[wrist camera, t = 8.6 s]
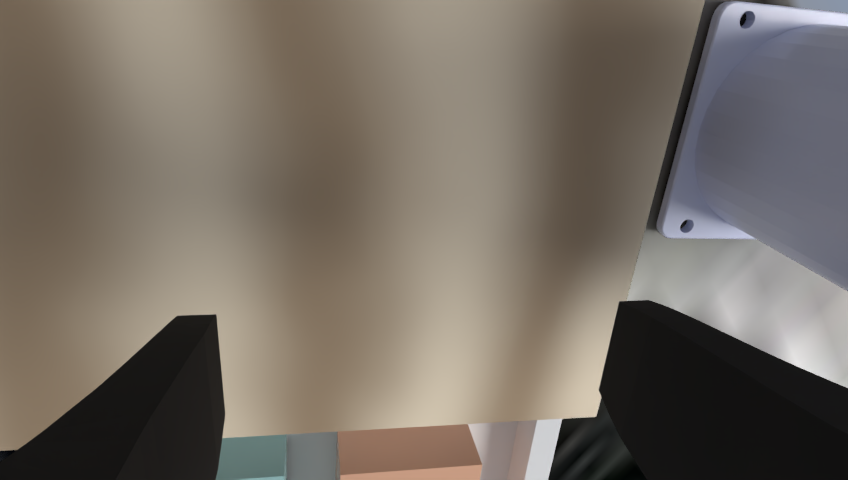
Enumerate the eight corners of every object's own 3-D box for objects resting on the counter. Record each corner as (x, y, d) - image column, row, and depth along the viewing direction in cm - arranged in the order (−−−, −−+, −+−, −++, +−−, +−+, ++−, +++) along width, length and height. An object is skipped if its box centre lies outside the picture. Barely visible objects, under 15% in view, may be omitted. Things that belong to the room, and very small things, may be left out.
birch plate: (649, -125, 16) (746, -155, 13) (550, 347, 23) (596, 416, 19) (-83, -237, 13) (-236, -323, 9) (42, 362, 19) (-20, 451, 15)
